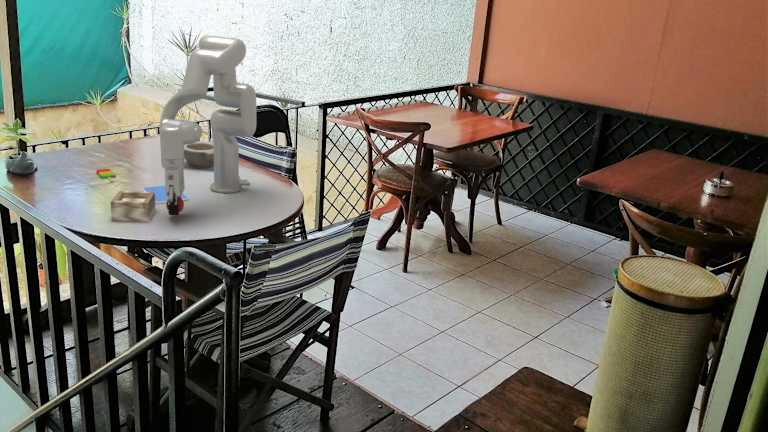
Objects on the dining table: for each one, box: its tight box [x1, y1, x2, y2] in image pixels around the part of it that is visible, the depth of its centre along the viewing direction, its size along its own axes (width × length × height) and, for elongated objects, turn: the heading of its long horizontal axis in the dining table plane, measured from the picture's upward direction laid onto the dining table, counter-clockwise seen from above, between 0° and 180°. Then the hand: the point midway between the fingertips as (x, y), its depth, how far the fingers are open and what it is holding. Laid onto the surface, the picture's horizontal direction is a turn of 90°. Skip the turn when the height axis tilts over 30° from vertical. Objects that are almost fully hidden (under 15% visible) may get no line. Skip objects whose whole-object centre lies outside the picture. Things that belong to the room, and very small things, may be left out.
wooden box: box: [110, 190, 156, 223], centre depth 237 cm, size 12×12×7 cm
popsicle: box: [96, 168, 117, 183], centre depth 276 cm, size 6×15×2 cm, turn 35°
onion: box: [165, 194, 185, 213], centre depth 237 cm, size 6×6×8 cm
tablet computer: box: [141, 185, 190, 205], centre depth 261 cm, size 19×13×1 cm, turn 34°
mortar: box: [184, 140, 214, 169], centre depth 298 cm, size 17×17×9 cm
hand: (175, 211), depth 238 cm, fingers closed on onion, 5 cm apart
